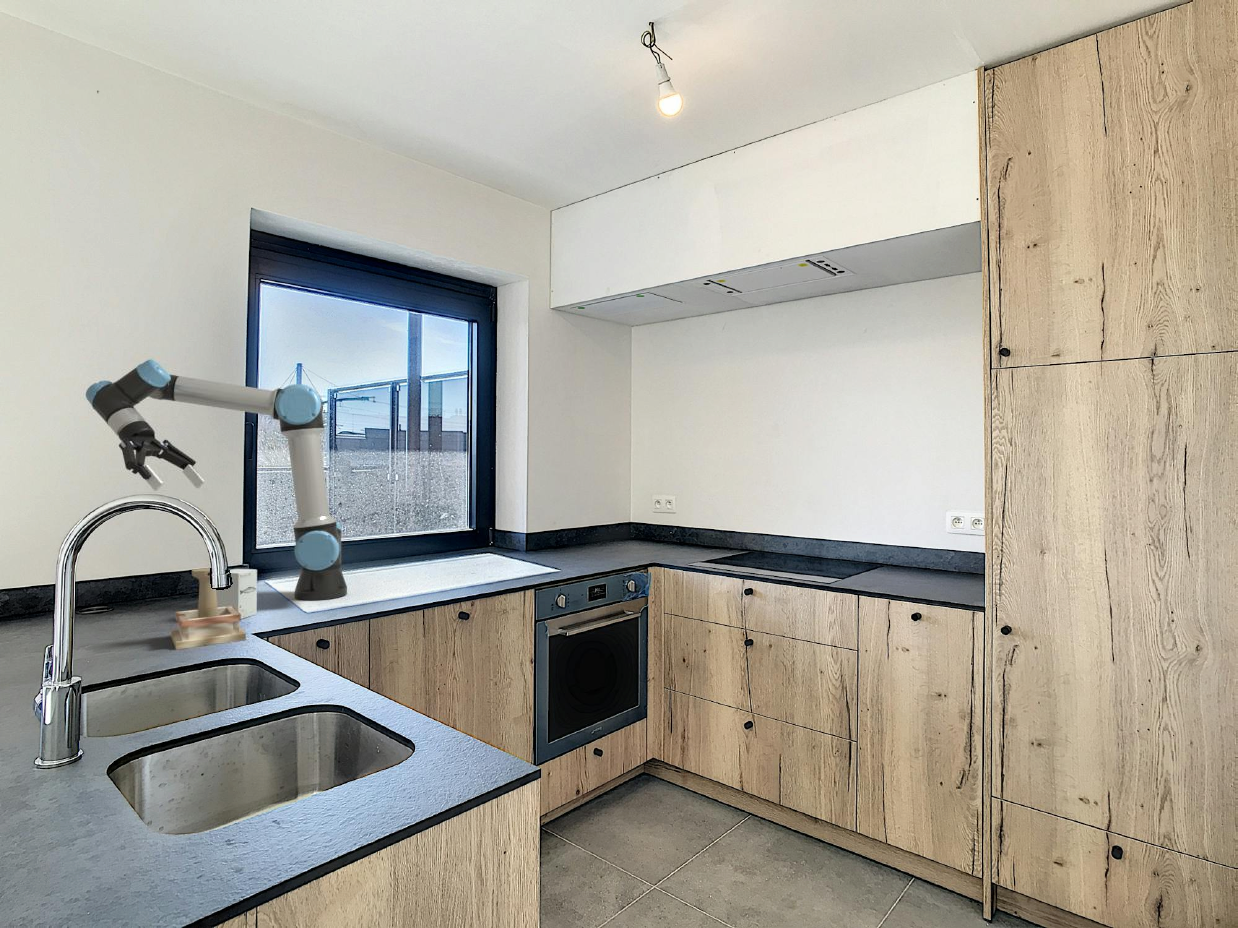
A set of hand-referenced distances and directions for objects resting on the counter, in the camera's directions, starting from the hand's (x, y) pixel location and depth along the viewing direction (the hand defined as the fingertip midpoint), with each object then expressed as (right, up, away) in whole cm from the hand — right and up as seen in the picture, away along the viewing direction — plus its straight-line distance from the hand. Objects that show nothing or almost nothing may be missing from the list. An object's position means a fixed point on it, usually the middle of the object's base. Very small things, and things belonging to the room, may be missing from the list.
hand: (180, 486), depth 183 cm
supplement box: (+12, -36, +5) cm, 38 cm away
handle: (+17, -35, -17) cm, 42 cm away
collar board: (+17, -36, -17) cm, 43 cm away
